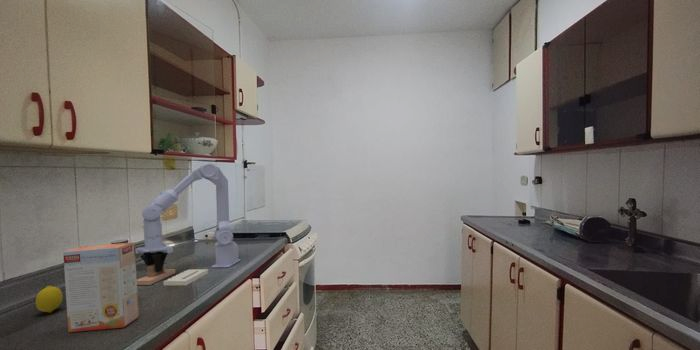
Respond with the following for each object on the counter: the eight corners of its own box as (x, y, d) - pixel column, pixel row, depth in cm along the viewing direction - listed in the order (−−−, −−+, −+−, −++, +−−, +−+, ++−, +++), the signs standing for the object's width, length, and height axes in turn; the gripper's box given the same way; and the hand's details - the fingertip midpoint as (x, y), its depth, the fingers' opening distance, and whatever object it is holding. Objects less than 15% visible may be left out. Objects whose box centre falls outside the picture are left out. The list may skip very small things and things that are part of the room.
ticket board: (187, 273, 112) (187, 269, 112) (208, 273, 111) (208, 269, 111) (163, 285, 101) (163, 280, 101) (186, 285, 99) (186, 280, 99)
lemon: (60, 306, 88) (58, 281, 87) (66, 310, 85) (64, 283, 85) (34, 315, 83) (32, 288, 83) (39, 319, 80) (37, 291, 80)
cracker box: (140, 316, 77) (135, 241, 77) (123, 328, 71) (118, 247, 71) (88, 320, 77) (83, 244, 77) (67, 333, 71) (61, 250, 71)
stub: (161, 273, 114) (160, 259, 114) (175, 272, 113) (174, 259, 113) (134, 284, 102) (133, 269, 102) (150, 284, 101) (149, 269, 101)
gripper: (127, 239, 105) (129, 275, 105) (161, 238, 103) (164, 275, 103) (143, 234, 112) (145, 268, 112) (176, 233, 110) (178, 268, 110)
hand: (155, 271), depth 108 cm, fingers closed on stub, 2 cm apart
